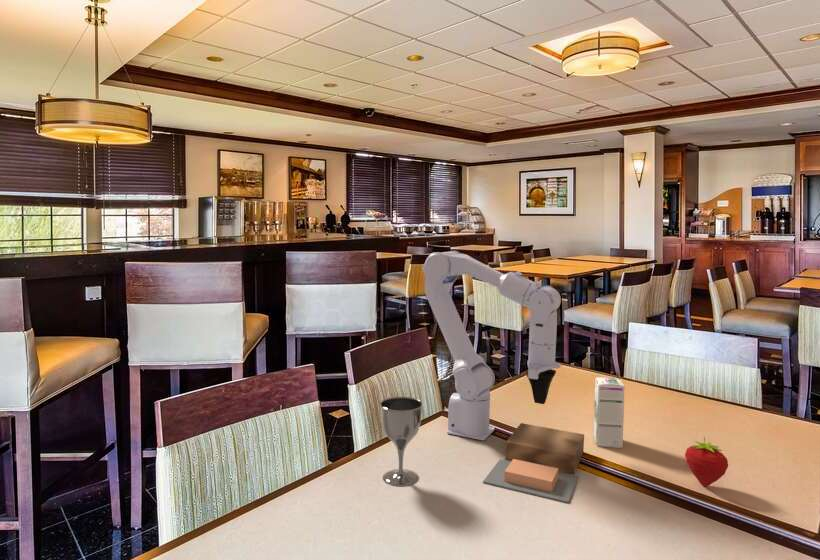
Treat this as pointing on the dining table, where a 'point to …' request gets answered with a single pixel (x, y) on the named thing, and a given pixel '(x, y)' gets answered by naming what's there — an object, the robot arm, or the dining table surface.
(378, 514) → the dining table surface
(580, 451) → the brown box
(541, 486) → the peach rectangular box
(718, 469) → the strawberry
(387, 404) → the wine glass
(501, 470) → the mat
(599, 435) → the syrup box
